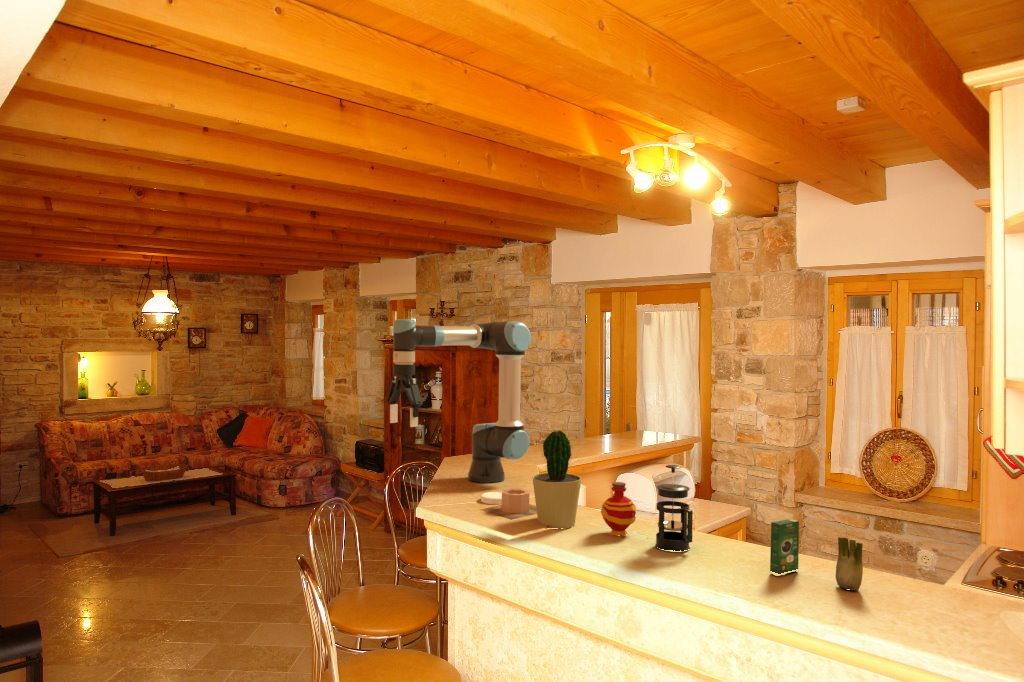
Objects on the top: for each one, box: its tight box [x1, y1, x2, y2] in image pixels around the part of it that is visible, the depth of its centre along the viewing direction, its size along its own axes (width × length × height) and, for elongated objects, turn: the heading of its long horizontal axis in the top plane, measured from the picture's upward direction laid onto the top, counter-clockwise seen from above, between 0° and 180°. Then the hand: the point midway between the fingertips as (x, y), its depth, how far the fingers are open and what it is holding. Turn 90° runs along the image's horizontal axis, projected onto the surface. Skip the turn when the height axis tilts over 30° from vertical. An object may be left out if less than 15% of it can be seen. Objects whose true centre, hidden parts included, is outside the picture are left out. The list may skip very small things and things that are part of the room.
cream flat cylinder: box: [480, 491, 502, 505], centre depth 238 cm, size 10×10×4 cm
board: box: [479, 503, 537, 520], centre depth 225 cm, size 18×16×1 cm
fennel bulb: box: [835, 536, 864, 591], centre depth 159 cm, size 6×5×12 cm
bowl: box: [501, 488, 530, 514], centre depth 225 cm, size 9×9×6 cm
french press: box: [655, 464, 694, 551], centre depth 190 cm, size 12×9×23 cm
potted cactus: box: [532, 429, 582, 530], centre depth 213 cm, size 15×15×30 cm
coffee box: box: [769, 518, 800, 574], centre depth 170 cm, size 8×3×13 cm, turn 122°
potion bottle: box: [600, 481, 637, 536], centre depth 203 cm, size 10×10×15 cm
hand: (403, 424), depth 236 cm, fingers open, 13 cm apart
